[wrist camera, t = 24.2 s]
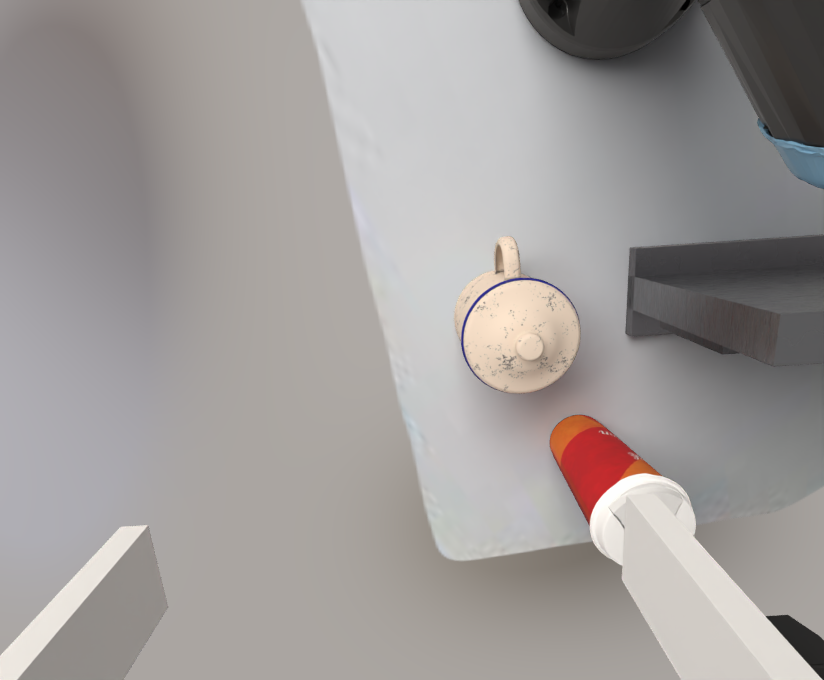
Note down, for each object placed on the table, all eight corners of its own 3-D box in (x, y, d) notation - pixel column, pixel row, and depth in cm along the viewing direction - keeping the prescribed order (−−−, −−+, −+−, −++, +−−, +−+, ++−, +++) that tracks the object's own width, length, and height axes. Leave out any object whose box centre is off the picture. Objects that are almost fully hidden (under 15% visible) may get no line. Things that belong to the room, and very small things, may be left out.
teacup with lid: (550, 355, 45) (598, 402, 33) (455, 366, 45) (472, 416, 34) (544, 228, 42) (595, 231, 30) (443, 240, 42) (456, 248, 30)
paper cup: (617, 465, 48) (704, 565, 34) (543, 480, 48) (601, 585, 34) (611, 396, 46) (701, 474, 32) (534, 411, 46) (592, 495, 32)
